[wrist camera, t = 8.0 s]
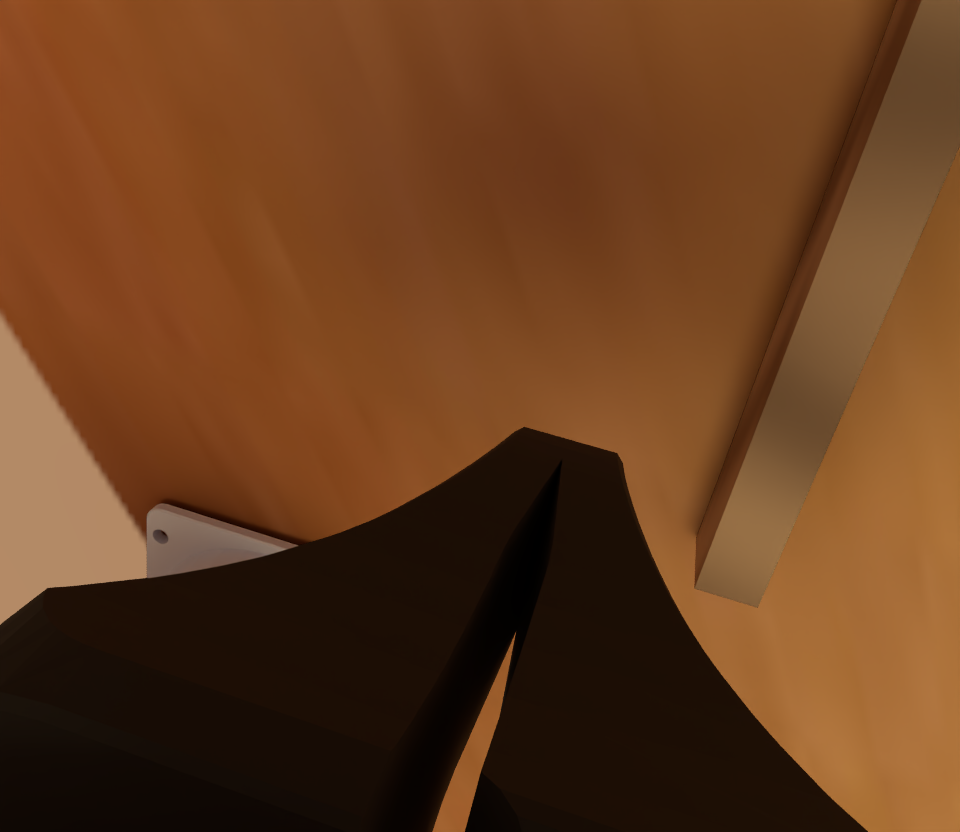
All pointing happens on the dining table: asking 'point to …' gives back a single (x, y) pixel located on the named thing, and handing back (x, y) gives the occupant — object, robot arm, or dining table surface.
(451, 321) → the dining table surface
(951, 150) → the flange channel
